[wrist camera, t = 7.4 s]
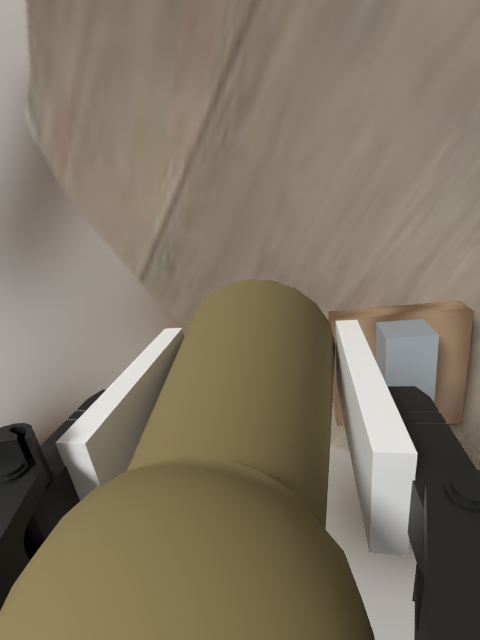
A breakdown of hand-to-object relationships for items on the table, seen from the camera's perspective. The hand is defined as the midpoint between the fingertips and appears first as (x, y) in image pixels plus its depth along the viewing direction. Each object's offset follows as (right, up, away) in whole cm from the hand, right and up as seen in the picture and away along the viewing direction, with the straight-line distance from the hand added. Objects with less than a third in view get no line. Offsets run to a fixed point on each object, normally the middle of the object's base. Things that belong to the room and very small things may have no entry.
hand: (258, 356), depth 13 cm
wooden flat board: (+15, -3, +22) cm, 27 cm away
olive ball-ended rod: (0, 0, 0) cm, 0 cm away
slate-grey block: (+15, -4, +18) cm, 24 cm away
